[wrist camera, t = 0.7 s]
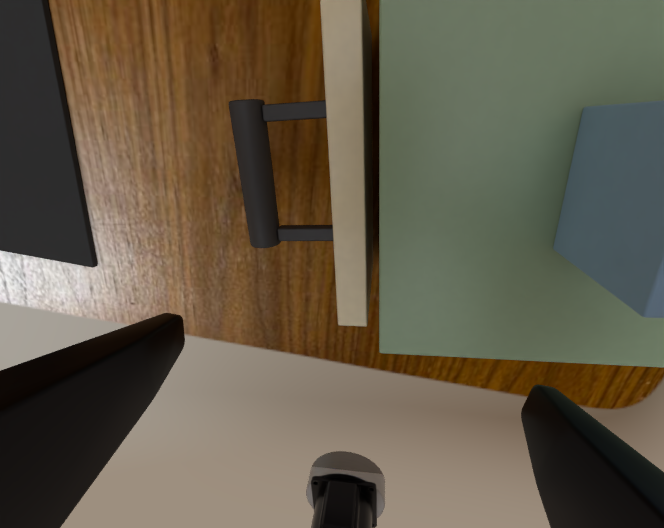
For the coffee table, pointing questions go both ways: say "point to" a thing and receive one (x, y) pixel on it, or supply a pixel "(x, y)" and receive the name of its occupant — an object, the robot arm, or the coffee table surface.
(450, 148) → the cabinet
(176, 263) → the coffee table surface
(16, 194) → the mat
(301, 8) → the coffee table surface
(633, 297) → the block
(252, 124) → the drawer
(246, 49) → the coffee table surface
